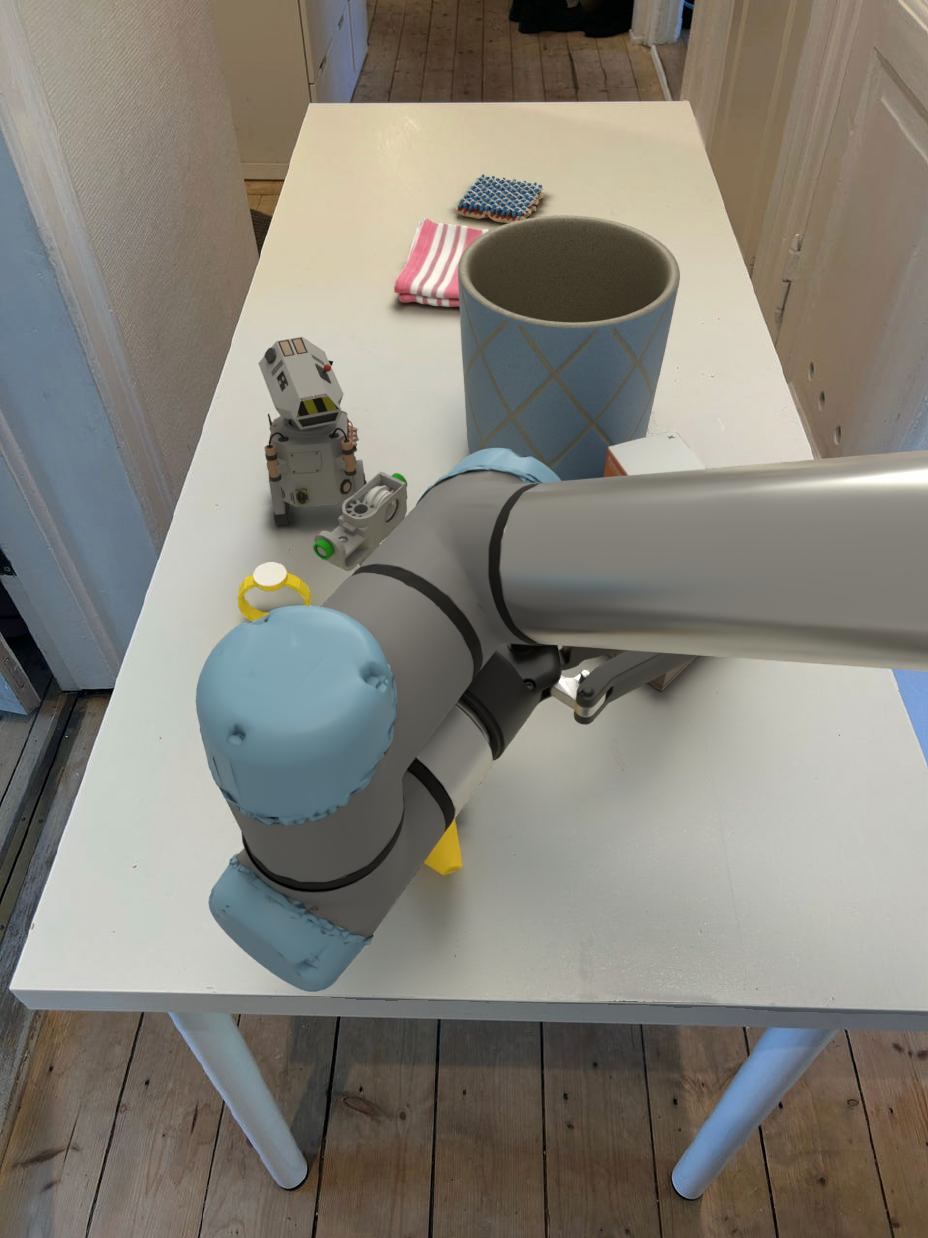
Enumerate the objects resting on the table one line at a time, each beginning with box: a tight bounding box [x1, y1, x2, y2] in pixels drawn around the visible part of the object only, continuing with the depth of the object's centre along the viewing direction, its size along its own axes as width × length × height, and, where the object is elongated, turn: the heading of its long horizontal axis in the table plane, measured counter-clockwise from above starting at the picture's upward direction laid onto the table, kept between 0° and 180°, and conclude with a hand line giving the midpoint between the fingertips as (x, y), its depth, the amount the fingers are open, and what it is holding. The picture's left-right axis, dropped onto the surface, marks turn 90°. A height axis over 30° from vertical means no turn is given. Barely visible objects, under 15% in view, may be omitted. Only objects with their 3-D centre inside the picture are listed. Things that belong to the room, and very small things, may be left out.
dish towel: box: [393, 217, 491, 308], centre depth 114 cm, size 17×23×4 cm
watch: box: [237, 561, 312, 622], centre depth 76 cm, size 6×3×6 cm, turn 93°
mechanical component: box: [312, 471, 408, 572], centre depth 76 cm, size 3×10×10 cm, turn 145°
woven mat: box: [455, 173, 545, 224], centre depth 127 cm, size 10×11×2 cm
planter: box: [458, 214, 681, 481], centre depth 85 cm, size 19×19×20 cm
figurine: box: [258, 336, 368, 526], centre depth 83 cm, size 9×12×15 cm
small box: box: [604, 429, 708, 477], centre depth 75 cm, size 8×6×13 cm
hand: (614, 505), depth 62 cm, fingers open, 13 cm apart
